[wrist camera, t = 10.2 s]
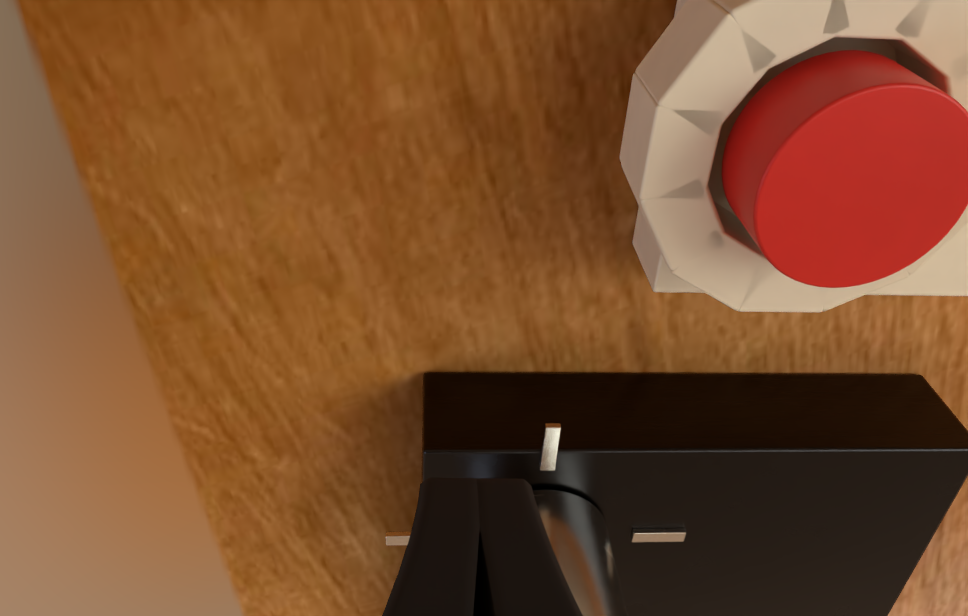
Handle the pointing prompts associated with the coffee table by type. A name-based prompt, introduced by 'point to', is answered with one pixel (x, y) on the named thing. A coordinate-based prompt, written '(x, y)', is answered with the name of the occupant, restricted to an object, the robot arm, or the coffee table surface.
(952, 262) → the igniter
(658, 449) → the stove panel
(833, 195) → the button
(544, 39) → the coffee table surface
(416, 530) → the robot arm
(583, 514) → the stove knob
